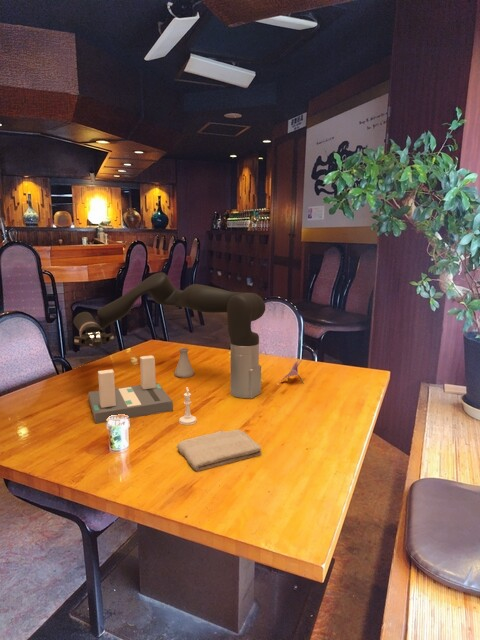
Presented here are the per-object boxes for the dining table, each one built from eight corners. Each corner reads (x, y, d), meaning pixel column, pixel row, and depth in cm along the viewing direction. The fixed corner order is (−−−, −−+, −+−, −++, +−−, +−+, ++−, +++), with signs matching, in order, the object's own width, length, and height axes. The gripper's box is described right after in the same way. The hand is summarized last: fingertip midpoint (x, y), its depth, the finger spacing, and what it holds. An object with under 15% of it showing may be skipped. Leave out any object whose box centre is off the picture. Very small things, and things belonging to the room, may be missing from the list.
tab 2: (141, 386, 139) (139, 356, 137) (153, 384, 141) (152, 355, 139) (143, 389, 137) (141, 359, 135) (155, 387, 138) (154, 357, 136)
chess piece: (182, 426, 118) (181, 391, 116) (176, 419, 122) (175, 386, 121) (199, 422, 120) (198, 388, 118) (192, 416, 125) (192, 383, 123)
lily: (301, 378, 161) (290, 357, 161) (320, 374, 152) (308, 352, 152) (281, 393, 155) (269, 371, 155) (299, 390, 146) (287, 367, 146)
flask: (197, 374, 162) (197, 348, 160) (185, 379, 156) (184, 352, 154) (183, 371, 166) (182, 345, 164) (170, 376, 160) (169, 350, 158)
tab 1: (100, 404, 125) (97, 371, 123) (114, 402, 126) (112, 369, 124) (101, 407, 122) (99, 374, 120) (115, 405, 124) (113, 372, 122)
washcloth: (264, 456, 103) (264, 444, 103) (194, 475, 95) (194, 462, 94) (241, 436, 114) (241, 425, 113) (176, 451, 105) (176, 440, 105)
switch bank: (89, 401, 136) (88, 391, 135) (158, 391, 145) (157, 382, 144) (95, 423, 120) (95, 412, 119) (172, 410, 129) (172, 400, 128)
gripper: (111, 342, 153) (120, 353, 137) (72, 346, 147) (75, 358, 132) (110, 321, 151) (118, 330, 136) (70, 324, 146) (73, 334, 130)
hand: (97, 344), depth 134 cm, fingers closed
